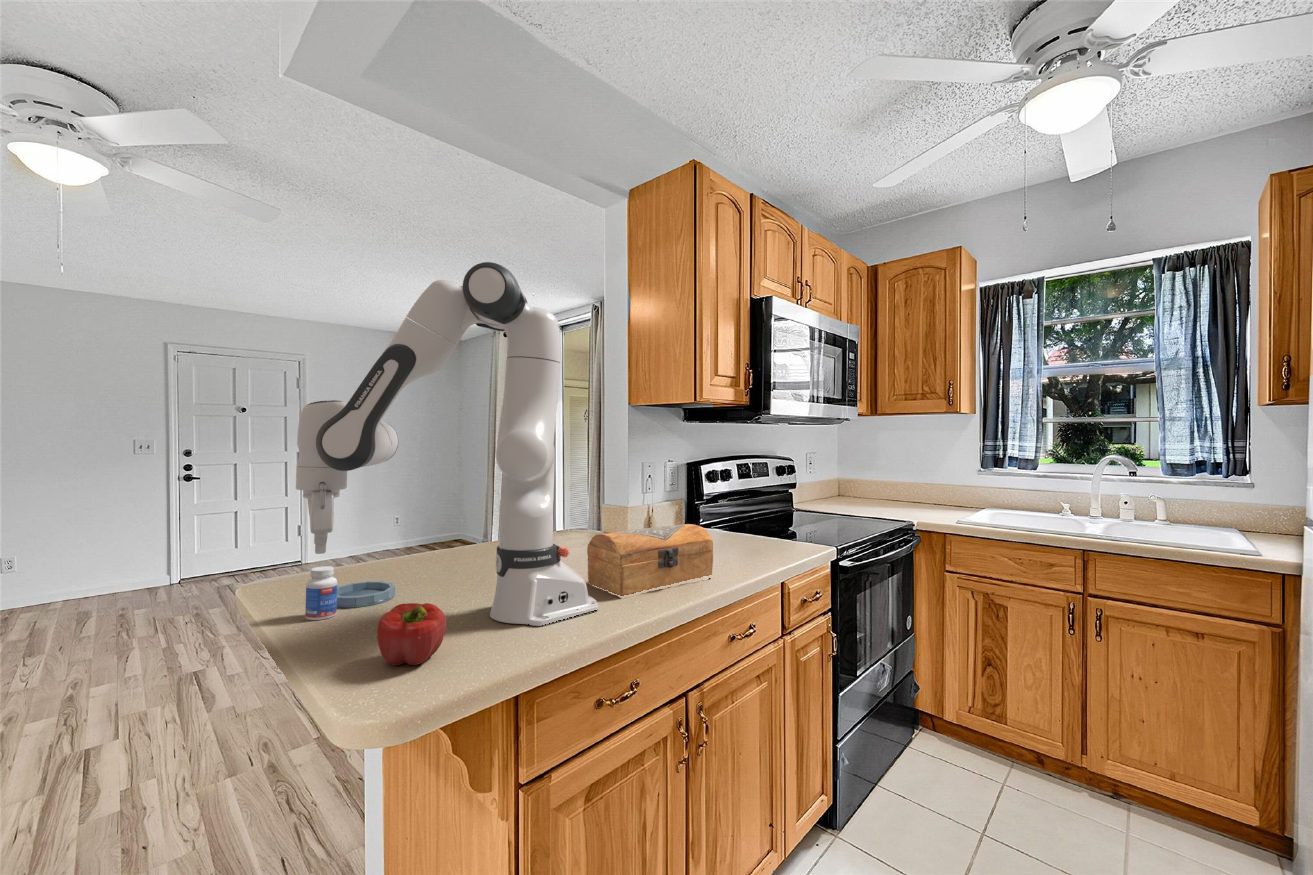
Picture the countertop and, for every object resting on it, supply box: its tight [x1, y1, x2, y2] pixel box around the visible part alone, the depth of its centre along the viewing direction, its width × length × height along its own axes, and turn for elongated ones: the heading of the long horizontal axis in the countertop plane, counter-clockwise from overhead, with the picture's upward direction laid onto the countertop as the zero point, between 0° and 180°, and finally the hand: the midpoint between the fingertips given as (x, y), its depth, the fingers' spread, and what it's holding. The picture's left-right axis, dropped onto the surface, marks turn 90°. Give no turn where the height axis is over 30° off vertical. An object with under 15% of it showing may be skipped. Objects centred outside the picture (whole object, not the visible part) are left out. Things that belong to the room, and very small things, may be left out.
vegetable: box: [376, 602, 447, 666], centre depth 89 cm, size 11×10×10 cm
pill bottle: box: [304, 565, 338, 621], centre depth 110 cm, size 6×5×10 cm
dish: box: [337, 580, 396, 609], centre depth 122 cm, size 13×13×2 cm
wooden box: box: [586, 523, 714, 596], centre depth 139 cm, size 30×16×14 cm, turn 128°
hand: (319, 548), depth 110 cm, fingers open, 8 cm apart
